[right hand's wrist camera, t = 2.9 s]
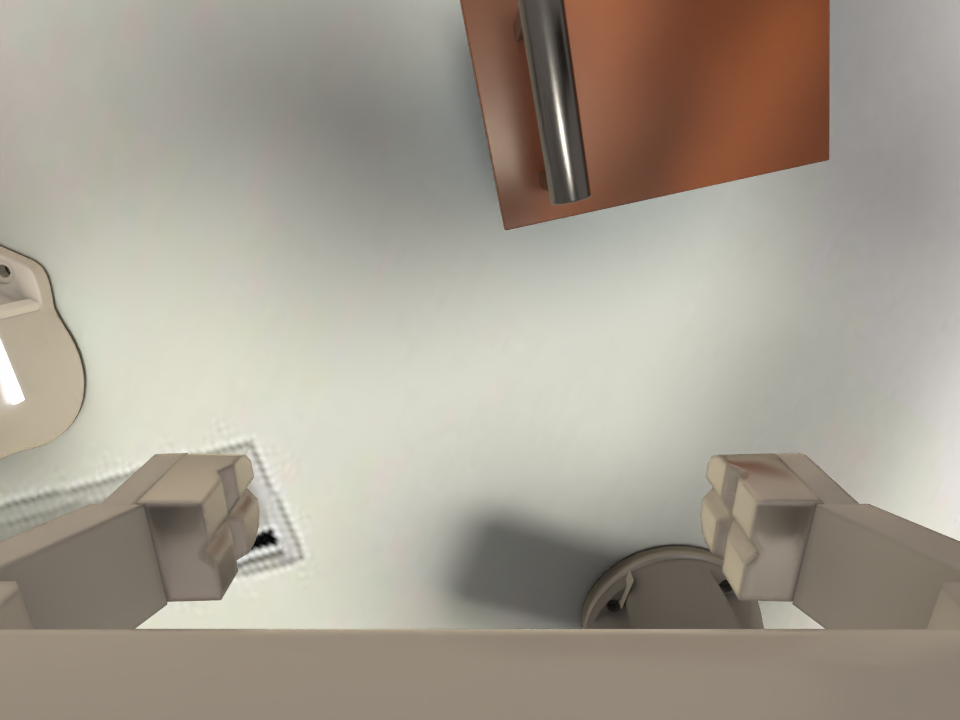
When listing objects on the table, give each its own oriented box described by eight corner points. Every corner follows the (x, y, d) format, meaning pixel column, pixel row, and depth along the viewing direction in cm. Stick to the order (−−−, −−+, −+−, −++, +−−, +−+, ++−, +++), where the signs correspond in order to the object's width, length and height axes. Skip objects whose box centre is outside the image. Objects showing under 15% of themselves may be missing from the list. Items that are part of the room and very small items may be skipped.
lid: (503, 228, 28) (515, 255, 20) (459, 0, 25) (454, -71, 17) (816, 159, 27) (954, 162, 19) (815, -87, 24) (981, -203, 16)
